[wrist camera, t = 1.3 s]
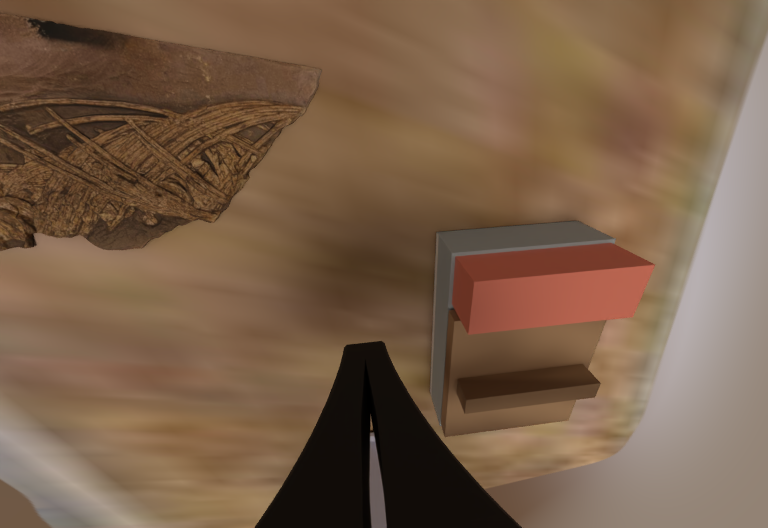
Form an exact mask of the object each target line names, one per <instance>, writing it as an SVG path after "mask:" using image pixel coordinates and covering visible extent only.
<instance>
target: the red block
mask: <svg viewBox="0 0 768 528" xmlns="http://www.w3.org/2000/svg"><path fill="white" fill-rule="evenodd" d="M654 267H655V264H653V263H651V262H649V261H647V260H645V259H643V258H641V257H639V256H637V255H635V254H633V253H631V252H629V251H627V250H625V249H623V248H621V247H619V246H617V245H615V244H613V243H602V244H590V245H579V246H568V247H556V248H545V249H533V250H522V251H510V252H499V253H488V254H476V255H465V256H455V268H454V281H453V295H452V305H453V307H454V309H455V311H456V313H457V315H458V317H459V318H460V320H461V322H462V324H463V326H464V328H465V330H466V332H467V333H468V335H471V334H481V333H490V332H499V331H508V330H517V329H527V328H536V327H545V326H554V325H564V324H573V323H582V322H591V321H601V320H610V319H619V318H628V317H633V315H634V313H635V311H636V308H637V306H638V304H639V301H640V299H641V297H642V294H643V292H644V290H645V287H646V285H647V283H648V280H649V278H650V276H651V274H652V271H653V269H654Z"/></svg>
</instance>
